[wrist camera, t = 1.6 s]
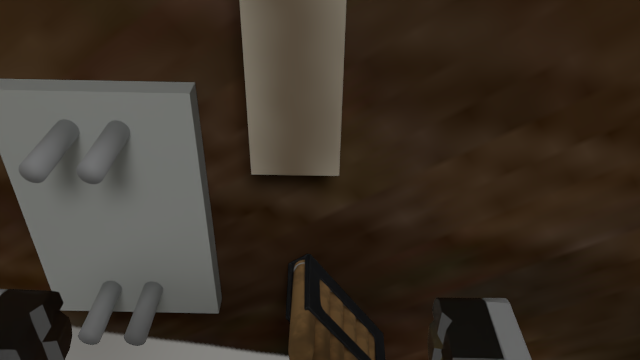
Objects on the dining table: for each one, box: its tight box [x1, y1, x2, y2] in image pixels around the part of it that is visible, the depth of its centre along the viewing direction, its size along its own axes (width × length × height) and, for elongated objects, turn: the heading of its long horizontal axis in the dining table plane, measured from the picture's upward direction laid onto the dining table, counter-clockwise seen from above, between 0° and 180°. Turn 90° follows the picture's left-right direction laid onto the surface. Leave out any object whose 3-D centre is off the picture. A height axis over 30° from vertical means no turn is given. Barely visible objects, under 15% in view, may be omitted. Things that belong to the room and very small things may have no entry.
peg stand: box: [0, 79, 222, 346], centre depth 34 cm, size 12×18×6 cm, turn 179°
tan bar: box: [239, 0, 346, 176], centre depth 28 cm, size 5×16×4 cm, turn 179°
